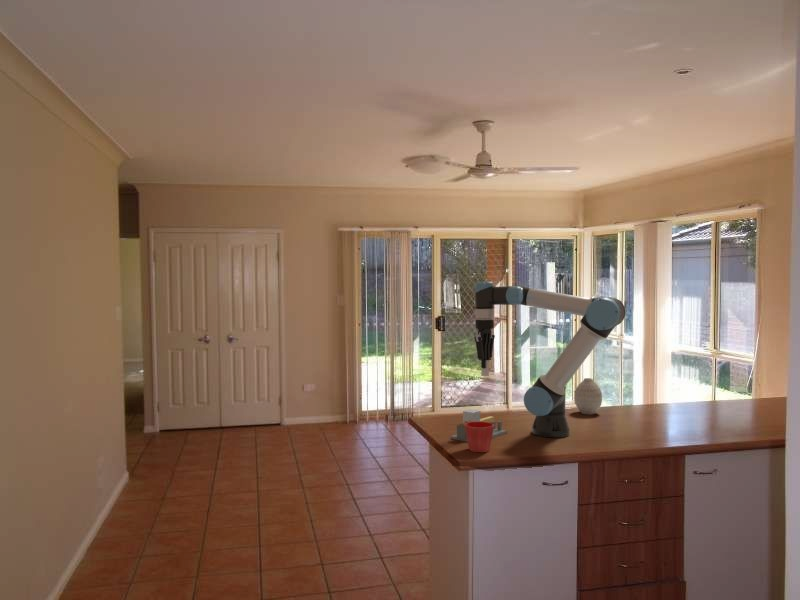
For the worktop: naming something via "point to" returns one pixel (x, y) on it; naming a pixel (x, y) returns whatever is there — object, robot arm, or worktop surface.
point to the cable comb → (496, 432)
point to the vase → (588, 397)
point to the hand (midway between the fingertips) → (485, 375)
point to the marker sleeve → (471, 416)
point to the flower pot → (479, 435)
